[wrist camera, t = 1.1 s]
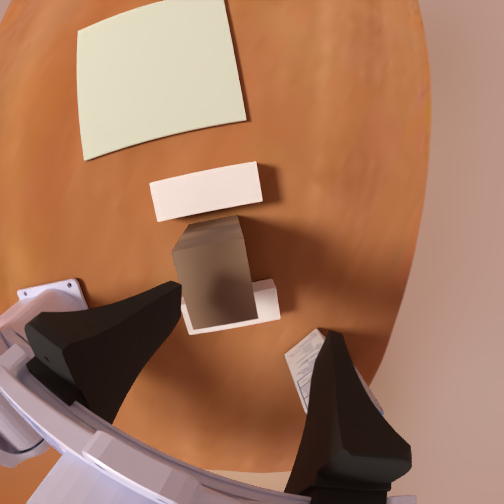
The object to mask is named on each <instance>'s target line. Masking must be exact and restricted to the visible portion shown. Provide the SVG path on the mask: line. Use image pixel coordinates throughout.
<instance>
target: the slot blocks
mask: <svg viewBox="0 0 504 504" xmlns="http://www.w3.org/2000/svg"><path fill="white" fill-rule="evenodd" d="M149 184H150V189H151V194H152V198H153V203H154V208H155V212H156V217H157V221H158V222H160V221H164V220H169V219H174V218H178V217H183V216H188V215H193V214H198V213H203V212H208V211H213V210H218V209H223V208H228V207H234V206H239V205H245V204H250V203H256V202H262V201H263V200H262V193H261V187H260V181H259V175H258V169H257V164H256V161H255V162H249V163H243V164H237V165H232V166H226V167H221V168H215V169H210V170H205V171H200V172H196V173H191V174H186V175H182V176H177V177H173V178H169V179H164V180H160V181H156V182H152V183H149ZM252 286H253V292H254V297H255V303H256V308H257V314H258V319H254V320H249V321H243V322H238V323H232V324H227V325H221V326H215V327H209V328H203V329H196V330H193V327H192V324H191V321H190V318H189V314H188V311H187V308H186V304H185V301H184V297H183V296H182V299H181V311H182V314H183V317H184V320H185V324H186V327H187V330H188V333H189V335H193V334H200V333H206V332H212V331H219V330H224V329H230V328H236V327H241V326H247V325H252V324H257V323H262V322H267V321H272V320H277V319H281V318H280V311H279V304H278V297H277V290H276V286H275V284H274V282H273V279H267V280H262V281H256V282H252Z"/></svg>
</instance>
